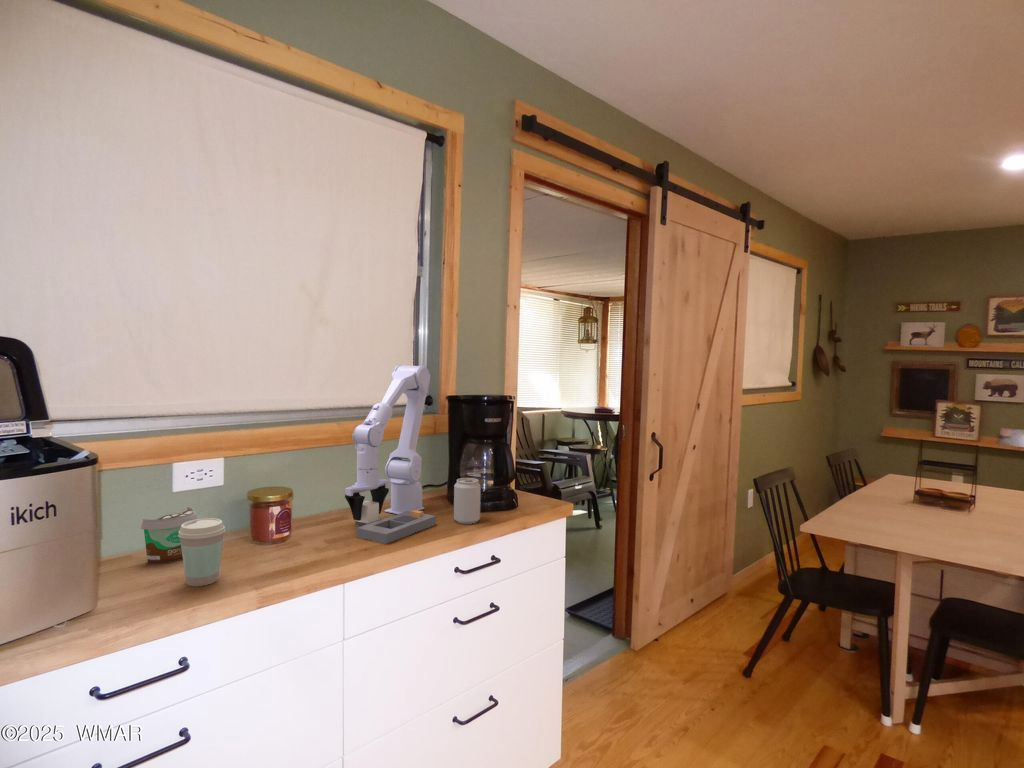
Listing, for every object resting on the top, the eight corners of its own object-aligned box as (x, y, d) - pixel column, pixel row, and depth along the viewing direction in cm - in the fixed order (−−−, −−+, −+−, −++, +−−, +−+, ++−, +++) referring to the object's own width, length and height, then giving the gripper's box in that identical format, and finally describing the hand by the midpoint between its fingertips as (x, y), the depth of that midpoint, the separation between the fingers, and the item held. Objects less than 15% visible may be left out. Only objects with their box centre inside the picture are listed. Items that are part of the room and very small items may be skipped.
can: (482, 518, 169) (483, 477, 169) (476, 525, 162) (477, 482, 161) (457, 516, 171) (458, 476, 170) (450, 523, 163) (451, 481, 163)
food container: (161, 568, 126) (161, 522, 126) (141, 564, 128) (140, 519, 128) (209, 551, 138) (208, 509, 137) (189, 547, 140) (189, 506, 139)
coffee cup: (205, 570, 125) (205, 515, 125) (235, 577, 122) (234, 520, 121) (168, 585, 117) (167, 526, 117) (199, 592, 114) (198, 531, 113)
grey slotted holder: (407, 519, 167) (407, 507, 167) (435, 524, 162) (435, 512, 162) (356, 537, 150) (356, 523, 150) (385, 544, 145) (385, 530, 145)
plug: (367, 521, 164) (367, 500, 164) (379, 524, 162) (379, 502, 162) (355, 525, 161) (355, 503, 160) (367, 528, 158) (367, 506, 158)
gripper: (375, 462, 169) (374, 509, 170) (337, 470, 156) (336, 520, 157) (393, 465, 165) (393, 512, 166) (356, 473, 153) (355, 524, 153)
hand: (367, 516), depth 161 cm, fingers open, 7 cm apart
